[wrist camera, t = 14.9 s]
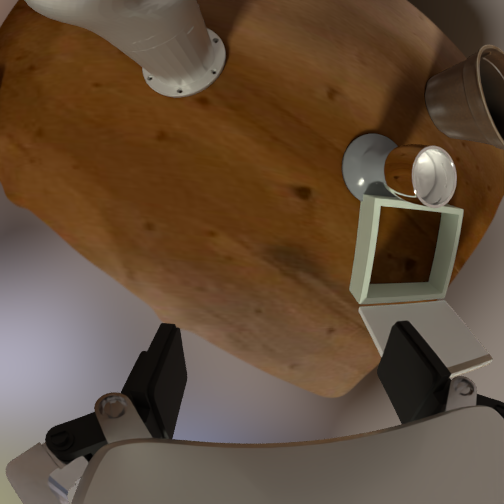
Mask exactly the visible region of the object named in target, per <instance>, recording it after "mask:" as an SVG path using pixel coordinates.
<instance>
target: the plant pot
mask: <svg viewBox="0 0 504 504" xmlns="http://www.w3.org/2000/svg"><path fill="white" fill-rule="evenodd" d="M426 85H427V88H426V92H425V102H426V106H427V110H428V112H429V115H430V117H431V119H432V121H433V122H434V124H435V125H436V127H437V128H438V129H439V130H440V131H441V132H443V133H444V134H446V135H447V136H448V137H450V138H455V139H463V140H469V141H475V142H481V143H486V144H490V145H493V146H495V147H497V148H500V149H504V52H503V51H502V50H501V49H499V48H498V47H496V46H493V45H485V46H483V47H481V48H480V49H479V51H478V52H477V53H475V54H473V55H471V56H469V57H468V58H467V60H465V61H463V62H461V63H459V64H457V65H455V66H453V67H451V68H449V69H447V70H445V71H443V72H441V73H439V74H437V75H434V76H433V77H431V78H430V79H429V80H428V82H427V84H426Z"/></svg>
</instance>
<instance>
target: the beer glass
mask: <svg viewBox="0 0 504 504" xmlns="http://www.w3.org/2000/svg"><path fill="white" fill-rule="evenodd" d="M360 173H361V176H362V178H363V180H364V182H365V183H366V184H367V185H369V186H370V187H372V188H375V189H383V188H385V189H387V190H388V191H389V192H391V193H392V194H394V195H395V196H397V197H398V198H400V199H402V200H404V201H407V202H410V203H413V204H417V205H422V206H427V207H430V208H440V207H442V206H444V205H445V204H447V203H448V202H449V200H450V199H451V198H452V196H453V194H454V191H455V188H456V182H457V175H456V169H455V165H454V163H453V160H452V159H451V157H450V155H449V154H448V153H447V152H446V151H445V150H444V149H442V148H440V147H438V146H429V145H422V144H408V145H402V146H398V147H395V148H393V149H391V150H388V151H383V150H380V149H372V150H370V151H368V152H367V153H365V154H364V156H363V157H362V159H361V162H360Z"/></svg>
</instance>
